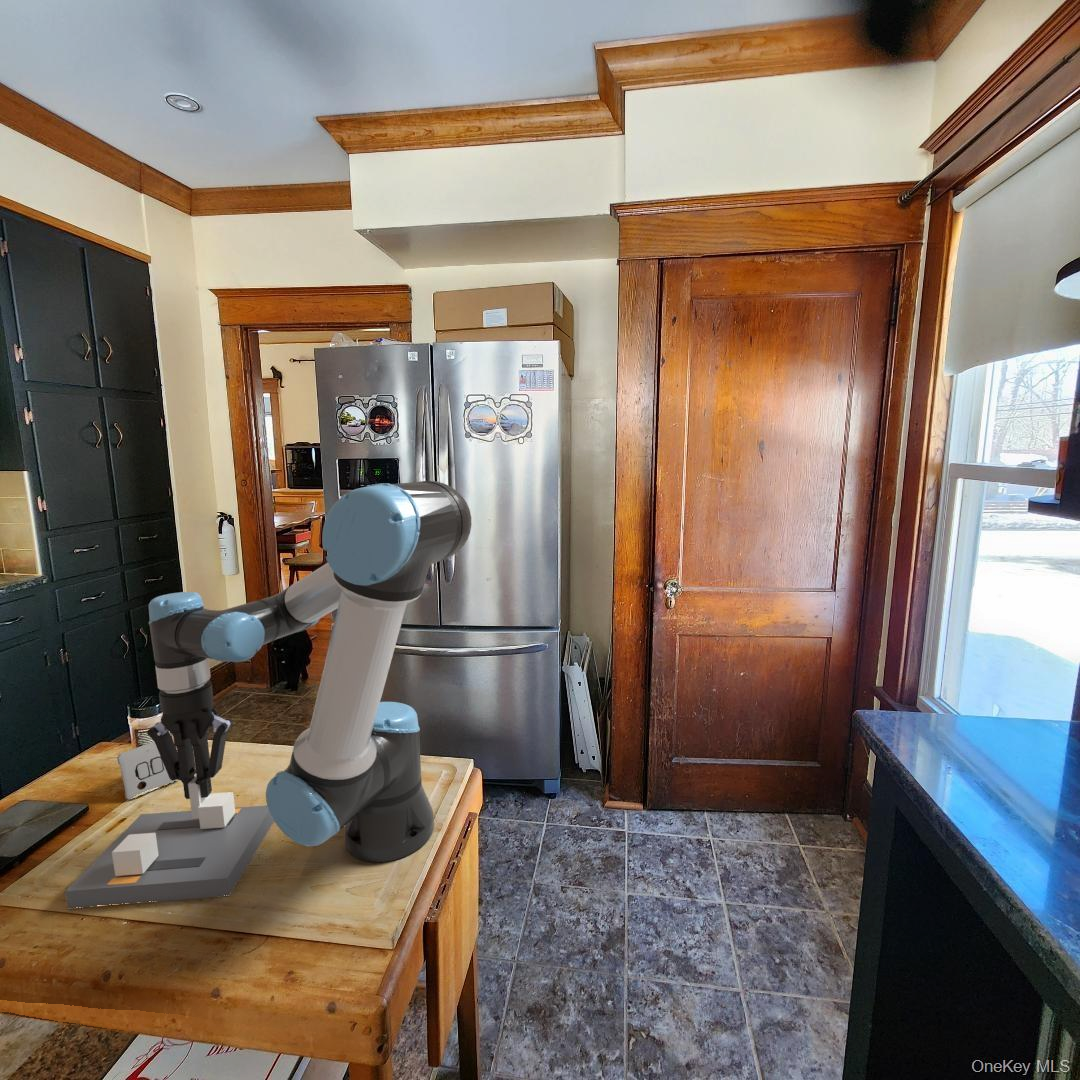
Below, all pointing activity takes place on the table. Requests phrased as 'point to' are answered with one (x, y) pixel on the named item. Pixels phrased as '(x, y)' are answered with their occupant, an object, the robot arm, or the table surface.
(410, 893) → the table surface
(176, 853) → the switch panel
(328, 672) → the robot arm
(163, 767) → the electrical switch
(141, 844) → the tab left
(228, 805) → the tab right
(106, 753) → the table surface
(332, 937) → the table surface
